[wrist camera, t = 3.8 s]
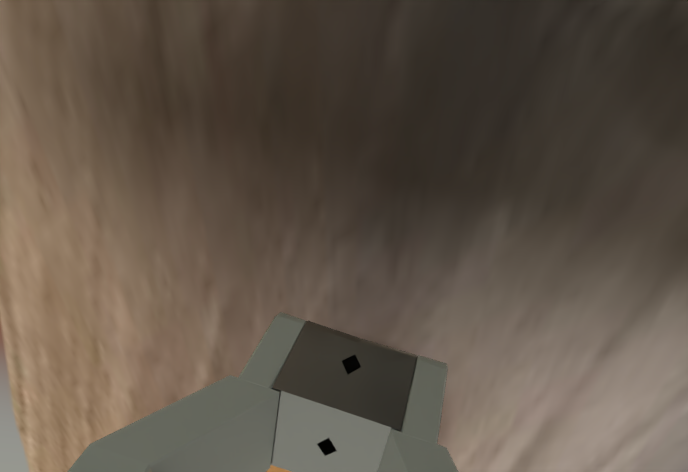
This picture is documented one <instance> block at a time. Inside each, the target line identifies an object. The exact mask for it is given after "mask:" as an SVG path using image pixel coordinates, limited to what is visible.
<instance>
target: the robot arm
mask: <svg viewBox="0 0 688 472" xmlns="http://www.w3.org/2000/svg"><path fill="white" fill-rule="evenodd" d="M447 371H448V367H447V364H446V363H443V362H439V361H436V360H433V359H429V358H426V357H422V356H419V355H418V356H417V355H415V354H412V353H408V352H405V351H402V350H398V349H395V348H392V347H388V346H385V345H382V344H378V343H375V342H372V341H368V340H365V339H361V338H358V337H355V336H352V335H349V334H346V333H343V332H340V331H337V330H334V329H331V328H328V327H325V326H322V325H319V324H316V323H313V322H310V321H305V320H302V319H299V318H296V317H293V316H291V315H288V314H285V313H282V312H280V313H279V314H278V315H277V316H276V317H275V318H274V319H273V321H272V323H271V324H270V326H269V328H268V329H267V331H266V333H265V334H264V336H263V338H262V339H261V341H260V343H259V344H258V346H257V347H256V349H255V351H254V352H253V354H252V356H251V357H250V359H249V361H248V362H247V364H246V366H245V367H244V369H243V371H242V372H241V374H240V376H239V377H238V378H237V377H234V376H231V375H229V376H227V377H225V378H223V379H221V380H219V381H217V382H215V383H213V384H211V385H209V386H207V387H205V388H203V389H201V390H199V391H197V392H195V393H193V394H191V395H189V396H187V397H185V398H183V399H181V400H179V401H176V402H174V403H172V404H170V405H168V406H166V407H164V408H162V409H160V410H158V411H156V412H154V413H152V414H150V415H148V416H146V417H144V418H142V419H140V420H138V421H136V422H134V423H132V424H130V425H128V426H126V427H124V428H122V429H120V430H118V431H116V432H113V433H111V434H109V435H107V436H105V437H103V438H101V439H99V440H97V441H95V442H93V443H91V444H90V445H89V446H88V447H87V448H86V450H85V451H84V452H83V453H82V455H81V456H80V457H79V458H78V459H77V461H76V462H75V463H74V464H73V466H72V467H71V468H70V469H69V470H68V472H266V471H267V470H268V469H270V465H273V466H276V467H279V468H282V469H285V470H288V471H291V472H458V470H457V468H456V466H455V464H454V462H453V460H452V458H451V456H450V454H449V452H448V450H447V448H446V447H443V446H440V445H438V444H437V442H438V435H439V428H440V421H441V414H442V407H443V399H444V392H445V385H446V378H447Z"/></svg>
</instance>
